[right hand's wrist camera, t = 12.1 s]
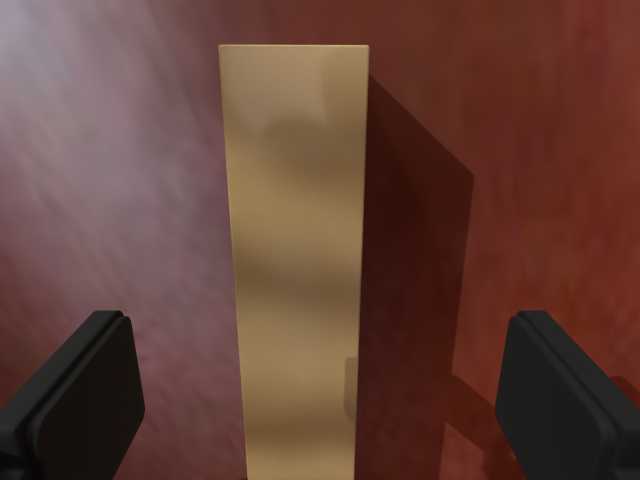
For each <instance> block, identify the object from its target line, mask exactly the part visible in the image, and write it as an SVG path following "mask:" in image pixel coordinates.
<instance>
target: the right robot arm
mask: <svg viewBox="0 0 640 480" xmlns="http://www.w3.org/2000/svg"><path fill="white" fill-rule="evenodd" d="M144 412H145V404H144V398H143V391H142V385H141V379H140V373H139V367H138V361H137V355H136V349H135V343H134V337H133V330H132V324H131V320H130V318H129V317H128V316H124V315H123V313H122V312H121V311H95V312H93V313H92V314H91V315H90V316H89V317H88V318H87V319H86V321H85V322H84V323H83V324H82V325H81V326H80V327H79V328H78V329H77V330H76V331H75V332H74V333H73V334H72V335H71V336H70V337H69V338H68V339H67V340H66V342H65V343H64V344H63V345H62V346H61V347H60V348H59V349H58V350H57V351H56V352H55V353H54V354H53V355H52V356H51V357H50V358H49V359H48V360H47V362H46V363H45V364H44V365H43V366H42V367H41V368H40V369H39V370H38V371H37V372H36V373H35V374H34V375H33V376H32V377H31V378H30V379H29V380H28V381H27V383H26V384H25V385H24V386H23V387H22V388H21V389H20V390H19V391H18V392H17V393H16V394H15V395H14V396H13V397H12V398H11V399H10V400H9V401H8V403H7V404H6V405H5V406H4V407H3V408H2V409H1V410H0V480H112V479H113V477H114V475H115V473H116V472H117V470H118V468H119V466H120V464H121V462H122V460H123V458H124V456H125V454H126V452H127V450H128V448H129V446H130V444H131V442H132V440H133V438H134V436H135V434H136V432H137V430H138V429H139V427H140V425H141V423H142V420H143V417H144ZM495 412H496V417H497V420H498V423H499V425H500V427H501V429H502V430H503V432H504V434H505V436H506V438H507V440H508V442H509V444H510V446H511V448H512V450H513V452H514V454H515V456H516V458H517V460H518V462H519V464H520V466H521V468H522V470H523V472H524V473H525V475H526V477H527V479H528V480H640V410H639V409H638V408H637V407H636V406H635V405H634V404H633V403H632V401H631V400H630V399H629V398H628V397H627V396H626V395H625V394H624V393H623V392H622V391H621V390H620V389H619V388H618V387H617V386H616V385H615V384H614V383H613V381H612V380H611V379H610V378H609V377H608V376H607V375H606V374H605V373H604V372H603V371H602V370H601V369H600V368H599V367H598V366H597V365H596V364H595V363H594V362H593V360H592V359H591V358H590V357H589V356H588V355H587V354H586V353H585V352H584V351H583V350H582V349H581V348H580V347H579V346H578V345H577V344H576V343H575V342H574V340H573V339H572V338H571V337H570V336H569V335H568V334H567V333H566V332H565V331H564V330H563V329H562V328H561V327H560V326H559V325H558V324H557V323H556V322H555V321H554V319H553V318H552V317H551V316H550V315H549V314H548V313H547V312H545V311H519V312H518V313H517V315H516V316H512V317H511V318H510V320H509V324H508V330H507V337H506V343H505V349H504V355H503V361H502V367H501V373H500V379H499V385H498V391H497V398H496V404H495Z"/></svg>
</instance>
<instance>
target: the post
mask: <svg viewBox="0 0 640 480" xmlns="http://www.w3.org/2000/svg"><path fill="white" fill-rule="evenodd" d="M218 49H219V64H220V78H221V93H222V108H223V123H224V137H225V152H226V167H227V181H228V196H229V211H230V226H231V240H232V255H233V270H234V285H235V299H236V314H237V329H238V343H239V358H240V373H241V388H242V402H243V417H244V432H245V447H246V461H247V476H248V480H354V472H355V444H356V415H357V387H358V359H359V331H360V303H361V275H362V247H363V218H364V190H365V162H366V134H367V106H368V78H369V50H370V48H369V46H368V45H223V44H221V45H219V47H218Z"/></svg>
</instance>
